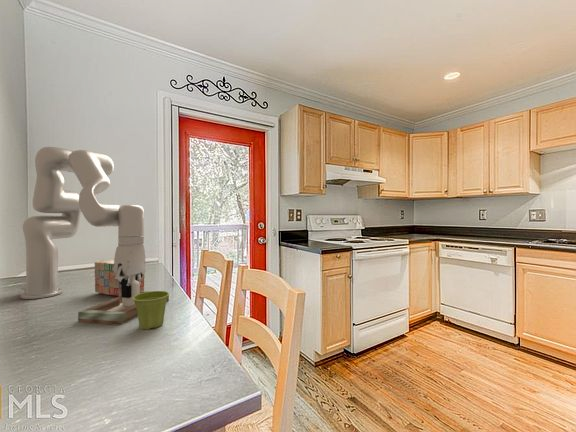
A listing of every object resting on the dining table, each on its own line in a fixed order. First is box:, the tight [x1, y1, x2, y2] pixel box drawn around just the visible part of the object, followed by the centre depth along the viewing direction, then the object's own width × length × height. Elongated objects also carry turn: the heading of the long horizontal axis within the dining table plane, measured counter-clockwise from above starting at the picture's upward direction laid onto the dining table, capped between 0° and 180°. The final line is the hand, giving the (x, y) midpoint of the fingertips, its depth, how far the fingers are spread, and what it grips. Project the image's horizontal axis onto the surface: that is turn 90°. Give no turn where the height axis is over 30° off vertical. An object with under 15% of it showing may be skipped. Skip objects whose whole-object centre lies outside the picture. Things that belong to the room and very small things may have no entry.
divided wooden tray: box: [77, 290, 170, 326], centre depth 93 cm, size 14×24×3 cm, turn 171°
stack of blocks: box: [94, 259, 145, 297], centre depth 110 cm, size 21×6×12 cm, turn 65°
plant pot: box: [133, 290, 170, 330], centre depth 80 cm, size 9×9×9 cm
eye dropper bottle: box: [122, 275, 140, 306], centre depth 94 cm, size 4×6×12 cm
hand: (130, 295), depth 94 cm, fingers closed on eye dropper bottle, 3 cm apart
